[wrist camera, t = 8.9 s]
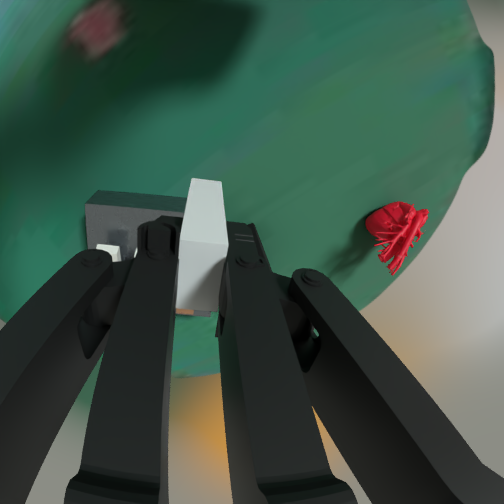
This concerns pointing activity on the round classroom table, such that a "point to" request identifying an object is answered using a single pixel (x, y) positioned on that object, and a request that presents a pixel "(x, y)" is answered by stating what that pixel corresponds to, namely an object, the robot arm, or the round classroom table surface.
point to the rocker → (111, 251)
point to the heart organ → (396, 230)
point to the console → (129, 222)
